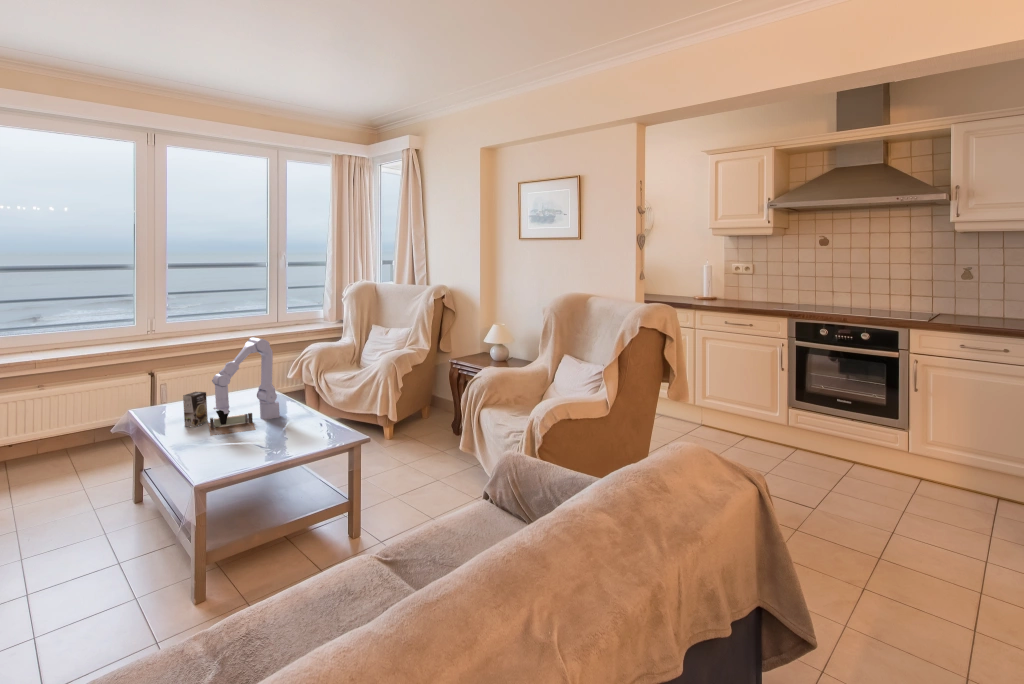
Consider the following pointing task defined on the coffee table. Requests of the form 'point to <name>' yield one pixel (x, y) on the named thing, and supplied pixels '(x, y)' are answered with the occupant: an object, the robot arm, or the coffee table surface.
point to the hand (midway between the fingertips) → (223, 424)
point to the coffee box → (195, 409)
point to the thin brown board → (231, 427)
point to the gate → (232, 420)
